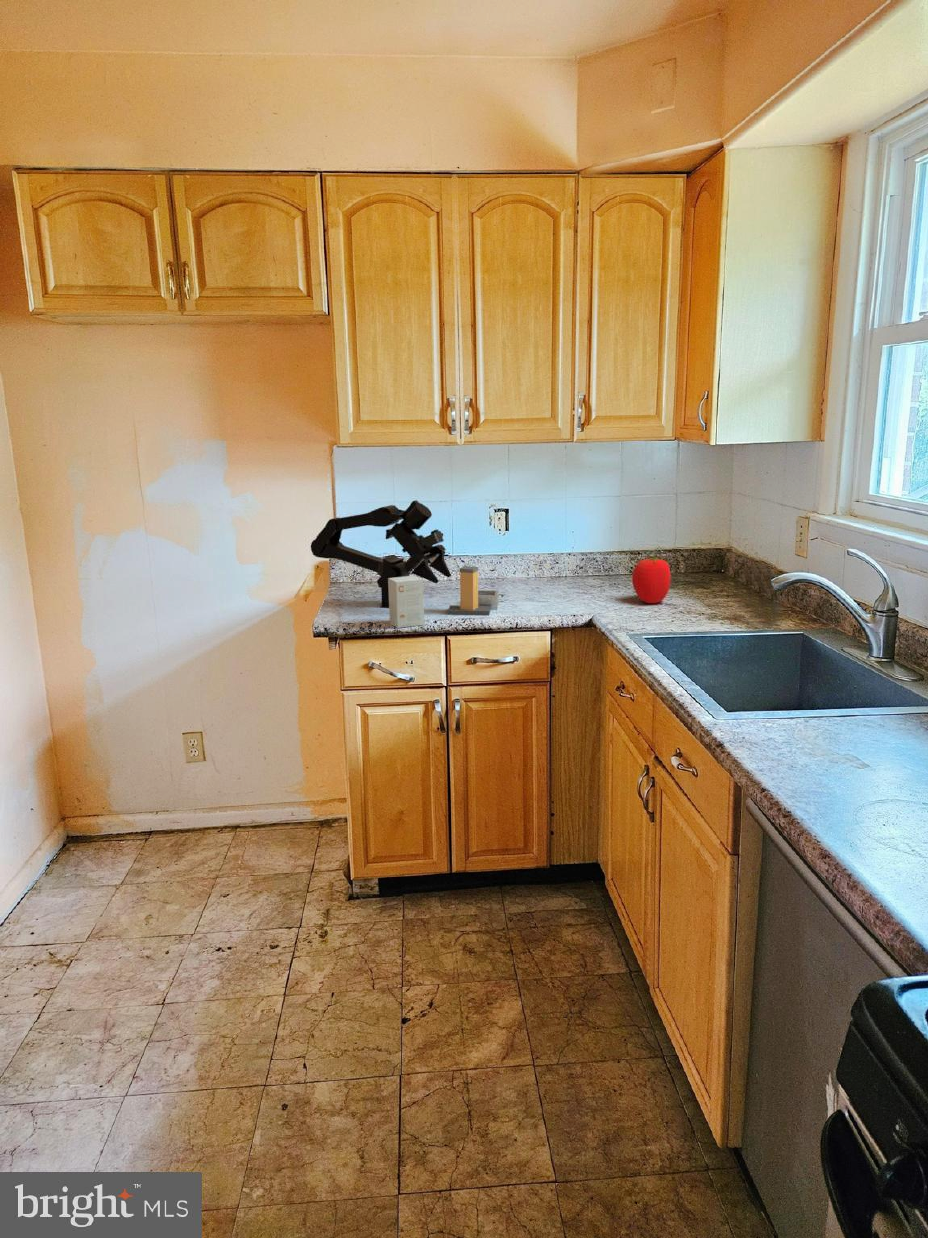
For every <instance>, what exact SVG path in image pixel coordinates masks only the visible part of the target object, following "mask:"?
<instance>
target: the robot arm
mask: <svg viewBox="0 0 928 1238" xmlns="http://www.w3.org/2000/svg"><path fill="white" fill-rule="evenodd" d="M432 515H433V514H432V512H431V510H430V509H429V507H428V506H426V505H425V504H423V503H421V502H420V501H418V500H417V499H415V500H413V501H412V502H410V503H409V506H408V507H407V508H406V510H403V509H400V508H398V507H397V506H396V505H395V504H394V505H393V504H390V505H386V506H381V507H379V508H375V509H373V510H371V511H369V512H366V513H361V514H355V515H354V514H353V515H348V516H343V517H340V516H339V517H334V518H330V519H329V520H328V521H327V522H326V524H325V526H324V527H323V529H322V530H321V531H320V532H319V533H318V534H317V536H316V538H315V539H314V540H312V542H311V544H310V551H311V553H312V555H313V556H314V557H316V558H320V559H329V560H330V559H335V560H336V559H337V560H339V561H342V562H346V563H349V564H352V565H354V566H357V567H361V568H364V569H366V570H369V571H372V572H375V573H377V575H379V578H378V579H376V584H377V586H378V587H379V588H380V589H381V591H380V592H381V604H380V607H381V608H389V590H388V578H395V577H405V576H411V574H412V575H414V576H417V577H419V578H421V579H425V580H427V581H429V582H432V583H434V584H438V583H439V579H438V577H437V576H436V575H435V573H434V572H433V570H435V571H437V572H439V573H440V574H442V575H443V576H444V577H446V578H450V577H451V576H452V574H451V571H450V569H449V567H448V565H447V564H446V560H445V555H446V548H445V546H443V544H440V543H442V542H444V538H443V536H444V533H442V532H441V530H439V529H436V528H435V529H434V530H432V531H430V534H429V535H427V536H423V534H420V535H418V534H417V532H416V531H415V530H420V529H421V528H422V527H423V526H424V524H426V522H427V521H428V520H429V519H430V518H432ZM400 520H401V521H400ZM366 526H368V527H369V526H370V527H371V526H372V527H379V528H380V527H382V528H385V527H390V526H392V527H391V528H388V529H386V530H385V532H386V533H385V539H386V540H390V539H392V538H394V539H395V540H396V541H397V543H398V544H399V545H400V546H401V548H402V549H401V551H402V552H403V553H407V554H408V555H409V557H408V559H407V560H405V558H404V557H398V556H396V555H388V556H385V557H383V558H381V557H378V556H375V555H373V554H369V553H366V552H364V551H361V550H358V549H354V548H351V547H349V546H346V545H344V543H342V542H341V541H340V540H341V538H342V534H343V533H342V532H343V530H349V529H355V528H360V527H366ZM431 568H432V569H433V570H432V569H431Z"/></svg>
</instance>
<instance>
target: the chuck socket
mask: <svg viewBox="0 0 928 1238" xmlns="http://www.w3.org/2000/svg"><path fill="white" fill-rule="evenodd" d="M499 596H500V595H499V590H490V589H489V590H484V589H483V590H481V589H480V590H479V589H478V606H491V610H497V609H498V606H499V599H500V598H499Z"/></svg>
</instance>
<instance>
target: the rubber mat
mask: <svg viewBox="0 0 928 1238" xmlns="http://www.w3.org/2000/svg"><path fill="white" fill-rule="evenodd" d="M491 610H492V609H491V606H478V608H476V609H475V610H464V609H460V605H455V604H453V605H450V606H449V607H448V609H447V615H448V616H450V615H453V616H454V615H455V616H459V615H460V616H462V615H463V616H490V614H491Z"/></svg>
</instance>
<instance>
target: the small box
mask: <svg viewBox="0 0 928 1238" xmlns="http://www.w3.org/2000/svg"><path fill="white" fill-rule="evenodd" d="M423 579H424V578H422V577H420V576H417V575H409V576H405V577H395V578H388V590H389V607H388V608H389V611H388V613H389V624H390V625H391V626H393V627H395V628H397V629H403V628H409V627H417V626H424V625H425V610H424V609H425V608H424V605H425V604H424V580H423Z"/></svg>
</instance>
